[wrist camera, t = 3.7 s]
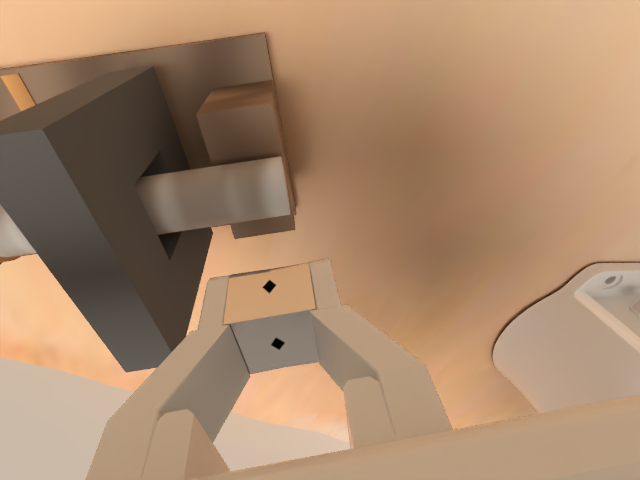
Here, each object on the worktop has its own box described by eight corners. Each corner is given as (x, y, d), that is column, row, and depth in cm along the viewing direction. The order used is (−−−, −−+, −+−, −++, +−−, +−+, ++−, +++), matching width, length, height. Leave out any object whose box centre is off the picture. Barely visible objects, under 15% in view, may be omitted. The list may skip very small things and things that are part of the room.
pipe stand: (265, 32, 17) (258, 55, 10) (295, 206, 23) (304, 294, 16) (-105, 83, 17) (-366, 143, 10) (21, 248, 22) (-88, 356, 16)
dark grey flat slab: (153, 65, 15) (41, 128, 8) (212, 232, 20) (178, 364, 13) (108, 72, 15) (-47, 142, 8) (179, 237, 20) (125, 372, 13)
